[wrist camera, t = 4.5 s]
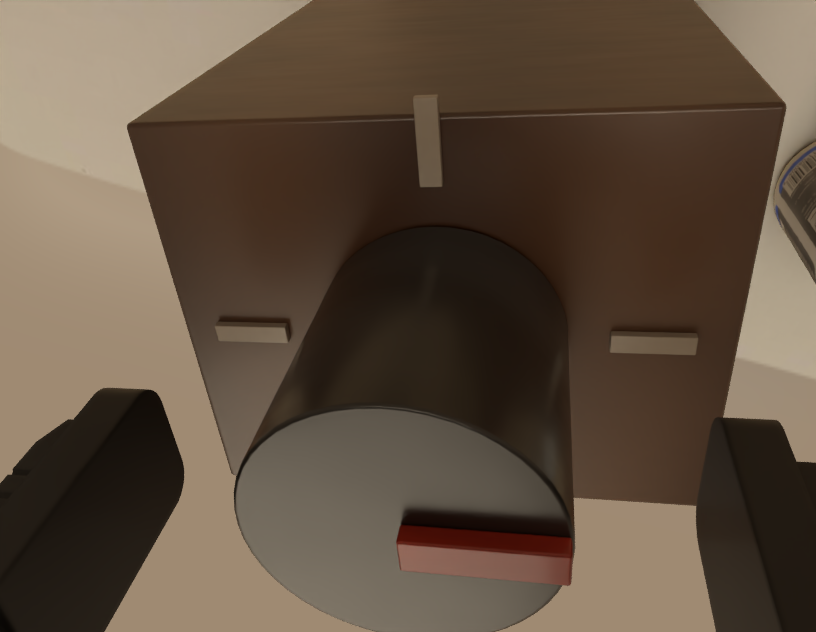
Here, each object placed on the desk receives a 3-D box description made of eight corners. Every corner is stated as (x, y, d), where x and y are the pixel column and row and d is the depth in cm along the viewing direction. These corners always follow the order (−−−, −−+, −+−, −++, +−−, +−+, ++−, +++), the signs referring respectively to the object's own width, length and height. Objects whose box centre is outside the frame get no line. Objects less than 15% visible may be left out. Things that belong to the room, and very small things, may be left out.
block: (386, 177, 31) (231, 491, 16) (362, -44, 26) (112, 108, 11) (626, 173, 29) (705, 524, 14) (646, -65, 24) (796, 84, 9)
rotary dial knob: (340, 423, 14) (260, 642, 10) (305, 225, 12) (184, 413, 8) (564, 434, 14) (568, 677, 10) (573, 224, 11) (586, 433, 7)
